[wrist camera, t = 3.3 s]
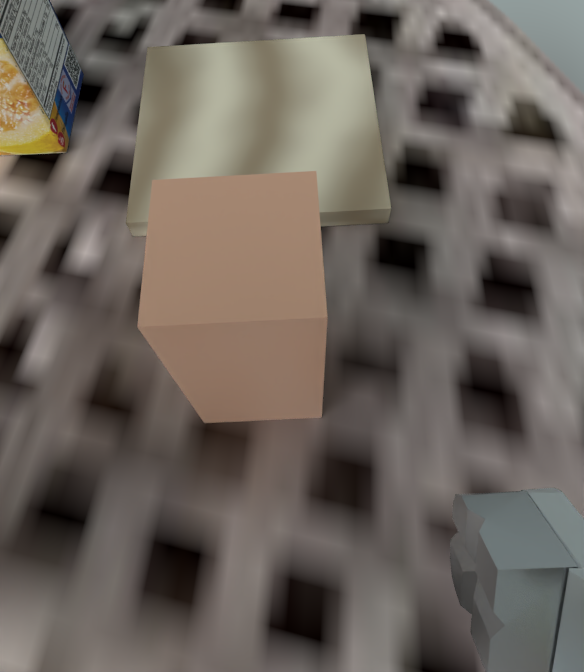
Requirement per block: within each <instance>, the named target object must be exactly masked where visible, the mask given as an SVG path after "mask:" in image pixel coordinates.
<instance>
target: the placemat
mask: <svg viewBox="0 0 584 672" xmlns="http://www.w3.org/2000/svg"><path fill="white" fill-rule="evenodd" d="M306 171H316V173H317V186H318V200H319V213H320V226H339V225H358V224H376V223H388V222H389V217H390V212H391V204H390V197H389V190H388V184H387V177H386V171H385V164H384V157H383V151H382V144H381V138H380V131H379V124H378V118H377V111H376V105H375V98H374V92H373V85H372V78H371V72H370V65H369V59H368V52H367V45H366V39H365V34H361V35H345V36H328V37H311V38H295V39H278V40H261V41H244V42H228V43H211V44H194V45H178V46H161V47H148V48H147V56H146V64H145V72H144V80H143V88H142V96H141V104H140V112H139V121H138V129H137V137H136V145H135V153H134V161H133V169H132V177H131V185H130V193H129V202H128V210H127V218H126V224H127V226H128V228H129V230H130V232H131V234H132V236H133V237H135V236H147V227H148V217H149V207H150V197H151V187H152V180H161V179H179V178H197V177H215V176H233V175H251V174H269V173H287V172H306Z"/></svg>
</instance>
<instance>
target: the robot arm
mask: <svg viewBox="0 0 584 672" xmlns="http://www.w3.org/2000/svg"><path fill="white" fill-rule="evenodd" d="M452 518H453V520H454V523H455V525H456V527H457V530H458V532H457V533H456V534H455V535H454V537H453V538H452V539H451V540H450V563H451V572H452V579H453V583H454V587H455V591H456V594H457V596H458V599H459V602H460V605H461V606H462V607H463V608H464V609H466V610H467V611H468V612H469V613H470V614H472V618H471V635H472V638H473V640H474V643H475V646H476V648H477V651H478V654H479V656H480V659H481V661H482V664H483V667H484V669H485V672H584V519H583V517H582V516H581V515H580V514H579V512H578V511H577V510H576V509H575V507H574V506H573V505H572V504H571V502H570V501H569V500H568V499H567V497H566V496H565V495H564V494H563V492H562V491H560V490H558V489H556V488H544V489H529V490H521V491H516V492H494V493H473V494H455V498H454V501H453V508H452Z"/></svg>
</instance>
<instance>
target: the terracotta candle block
mask: <svg viewBox="0 0 584 672" xmlns="http://www.w3.org/2000/svg"><path fill="white" fill-rule="evenodd" d="M327 318H328V317H327V304H326V291H325V278H324V265H323V252H322V239H321V226H320V213H319V200H318V186H317V173H316V171H306V172H287V173H269V174H251V175H233V176H215V177H197V178H179V179H161V180H152V187H151V197H150V207H149V217H148V227H147V237H146V247H145V257H144V267H143V276H142V286H141V296H140V306H139V316H138V326H137V327H138V329H139V330H140V332H141V333H142V334H143V336H144V337H145V339H146V340H147V342H148V343H149V344H150V346H151V347H152V349H153V350H154V352H155V353H156V354H157V356H158V357H159V359H160V360H161V362H162V363H163V364H164V366H165V367H166V369H167V370H168V372H169V373H170V375H171V376H172V377H173V379H174V380H175V382H176V383H177V385H178V386H179V387H180V389H181V390H182V392H183V393H184V395H185V396H186V397H187V399H188V400H189V402H190V403H191V405H192V406H193V407H194V409H195V410H196V412H197V413H198V415H199V416H200V417H201V419H202V420H203V422H204V423H217V422H238V421H259V420H280V419H301V418H322V405H323V387H324V370H325V353H326V335H327Z"/></svg>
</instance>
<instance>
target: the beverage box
mask: <svg viewBox="0 0 584 672" xmlns="http://www.w3.org/2000/svg"><path fill="white" fill-rule="evenodd" d="M82 80H83V72H82V70H81V68H80V66H79V64H78V61H77V59H76V57H75V55H74V53H73V50H72V48H71V46H70V44H69V42H68V39H67V37H66V35H65V33H64V31H63V28H62V26H61V24H60V22H59V20H58V17H57V15H56V13H55V11H54V9H53V6H52V4H51V2H50V0H0V156H4V155H26V154H48V153H66V152H67V148H68V144H69V139H70V135H71V130H72V126H73V121H74V116H75V112H76V107H77V103H78V98H79V94H80V89H81V84H82Z"/></svg>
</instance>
